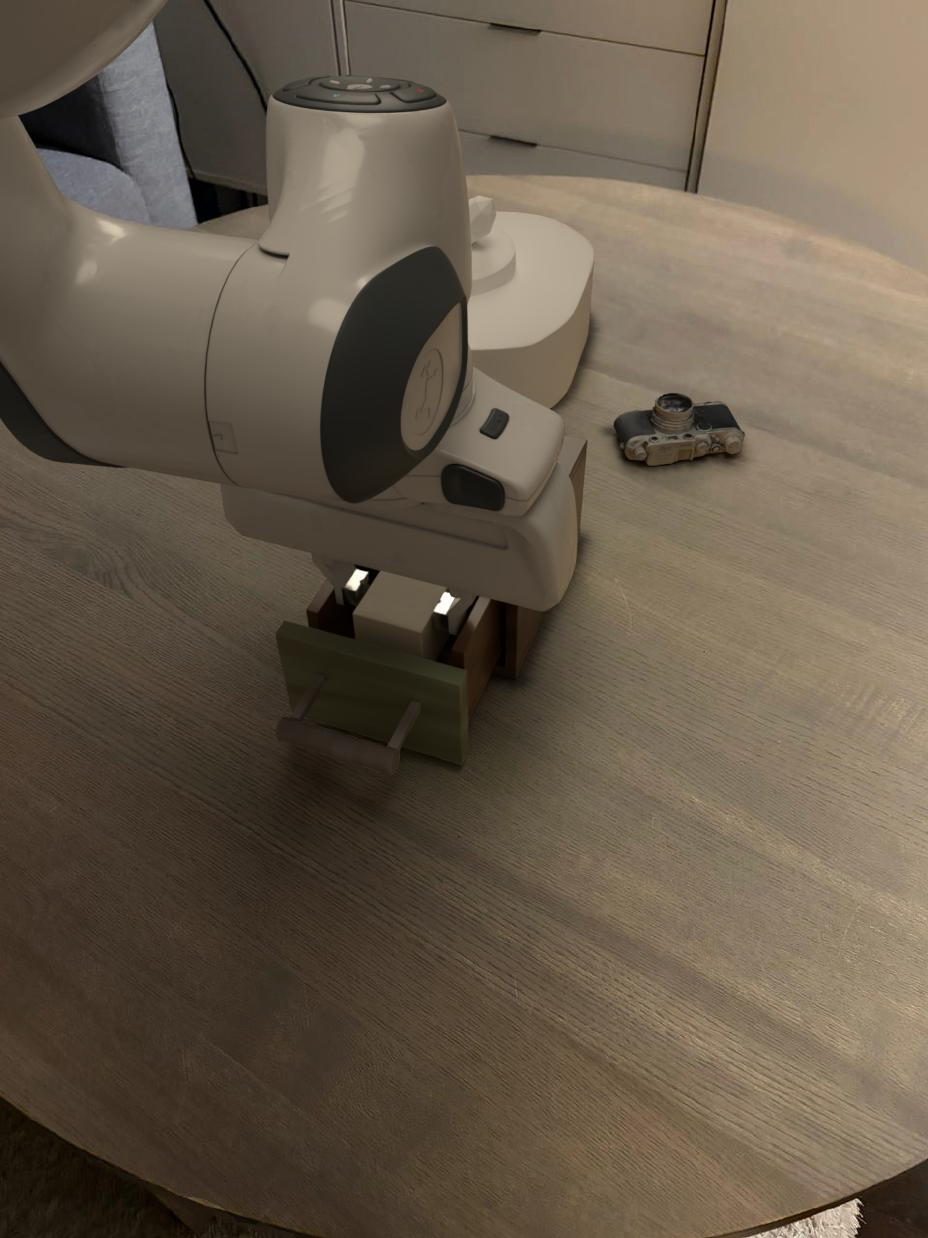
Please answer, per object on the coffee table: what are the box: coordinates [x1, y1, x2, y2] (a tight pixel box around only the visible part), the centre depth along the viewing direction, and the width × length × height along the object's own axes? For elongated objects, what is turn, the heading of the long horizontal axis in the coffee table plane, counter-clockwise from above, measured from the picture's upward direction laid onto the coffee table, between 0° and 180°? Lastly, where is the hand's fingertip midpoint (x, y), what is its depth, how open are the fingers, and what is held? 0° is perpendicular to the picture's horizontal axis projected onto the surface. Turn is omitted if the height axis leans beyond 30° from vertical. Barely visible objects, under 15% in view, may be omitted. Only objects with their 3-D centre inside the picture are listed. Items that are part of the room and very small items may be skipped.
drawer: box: [274, 564, 506, 776], centre depth 64 cm, size 18×11×7 cm, turn 159°
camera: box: [612, 392, 746, 467], centre depth 84 cm, size 5×10×4 cm, turn 98°
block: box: [353, 571, 450, 661], centre depth 63 cm, size 4×4×4 cm
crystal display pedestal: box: [467, 195, 595, 410], centre depth 91 cm, size 25×25×16 cm
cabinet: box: [491, 434, 588, 680], centre depth 71 cm, size 15×13×9 cm
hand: (401, 612), depth 63 cm, fingers open, 5 cm apart
